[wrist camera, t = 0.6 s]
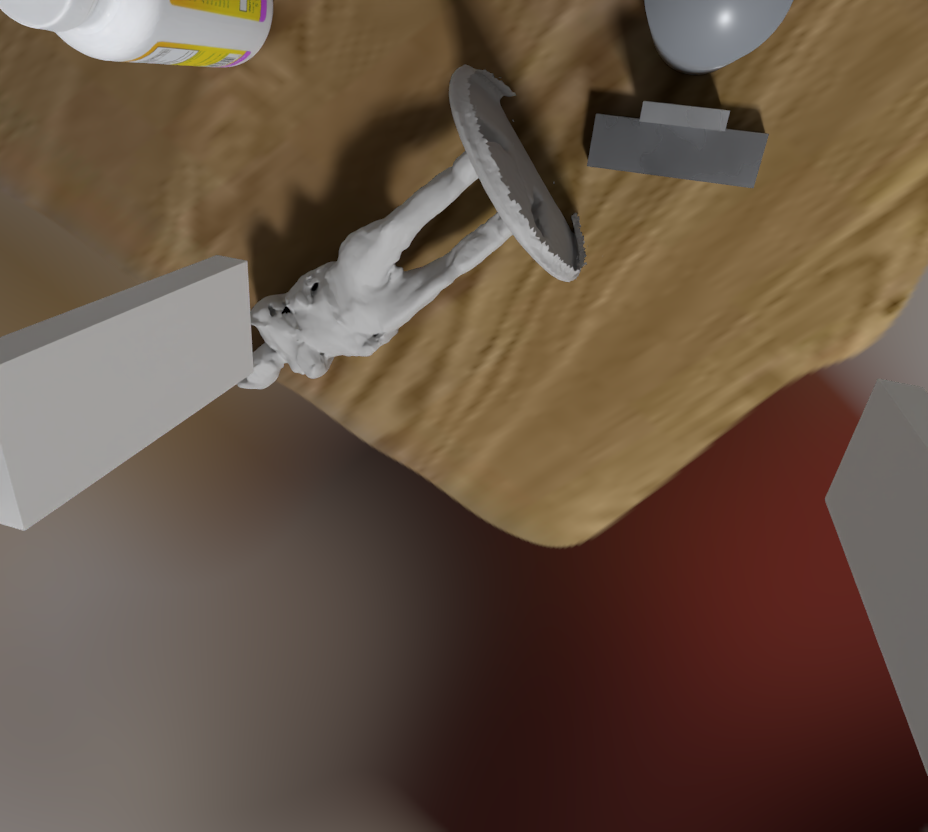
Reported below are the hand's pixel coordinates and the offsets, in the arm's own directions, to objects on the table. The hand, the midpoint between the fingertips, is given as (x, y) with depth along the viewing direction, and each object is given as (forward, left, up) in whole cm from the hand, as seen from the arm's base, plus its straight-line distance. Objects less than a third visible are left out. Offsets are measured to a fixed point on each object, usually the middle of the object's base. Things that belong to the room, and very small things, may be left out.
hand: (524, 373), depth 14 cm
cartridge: (-9, +3, -24) cm, 26 cm away
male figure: (+5, -13, -25) cm, 28 cm away
